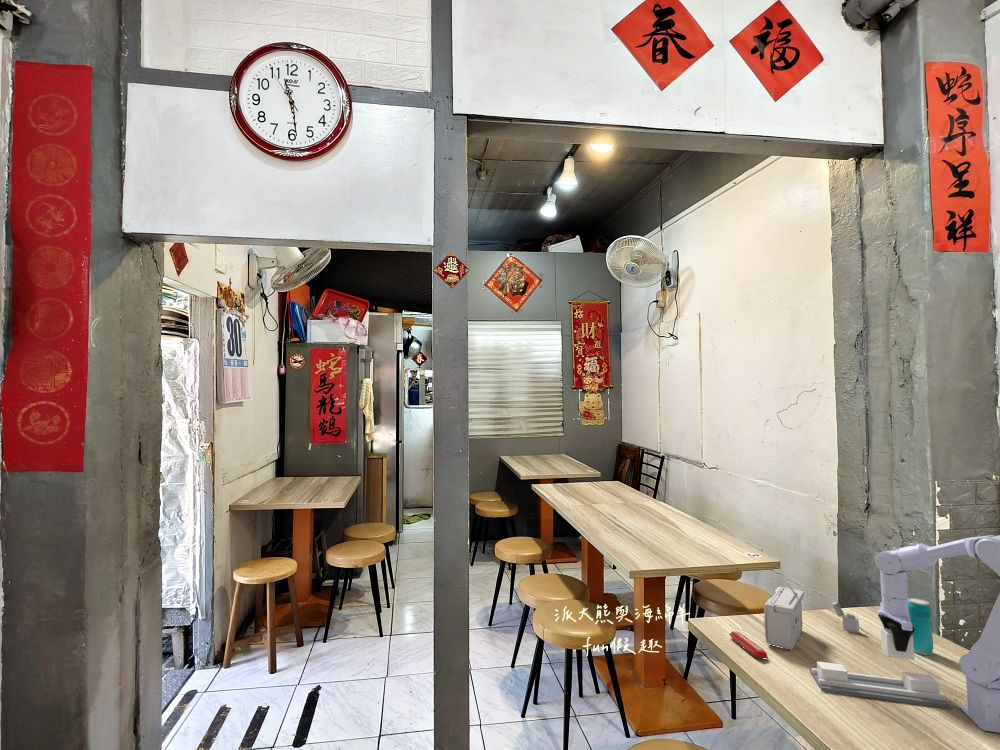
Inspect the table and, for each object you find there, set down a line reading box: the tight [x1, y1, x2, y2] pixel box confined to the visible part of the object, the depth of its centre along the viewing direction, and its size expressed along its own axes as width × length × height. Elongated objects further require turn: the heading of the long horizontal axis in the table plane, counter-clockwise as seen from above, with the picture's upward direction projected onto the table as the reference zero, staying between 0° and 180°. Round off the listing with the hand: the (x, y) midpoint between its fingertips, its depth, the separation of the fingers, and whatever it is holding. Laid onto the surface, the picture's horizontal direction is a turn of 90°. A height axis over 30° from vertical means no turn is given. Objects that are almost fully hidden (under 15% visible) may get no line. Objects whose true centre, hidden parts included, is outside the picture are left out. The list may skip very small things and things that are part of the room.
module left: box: [816, 661, 848, 682], centre depth 137 cm, size 4×6×4 cm, turn 74°
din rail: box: [809, 667, 952, 710], centre depth 134 cm, size 10×28×2 cm, turn 74°
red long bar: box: [729, 631, 769, 660], centre depth 157 cm, size 16×4×3 cm, turn 7°
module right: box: [902, 671, 940, 694], centre depth 131 cm, size 4×6×4 cm, turn 74°
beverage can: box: [908, 597, 934, 656], centre depth 155 cm, size 6×6×15 cm
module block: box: [880, 627, 915, 661], centre depth 138 cm, size 4×6×6 cm, turn 73°
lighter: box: [831, 601, 860, 634], centre depth 171 cm, size 7×2×8 cm, turn 38°
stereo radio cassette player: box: [763, 583, 805, 651], centre depth 164 cm, size 21×8×20 cm, turn 141°
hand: (897, 647), depth 138 cm, fingers closed on module block, 4 cm apart
